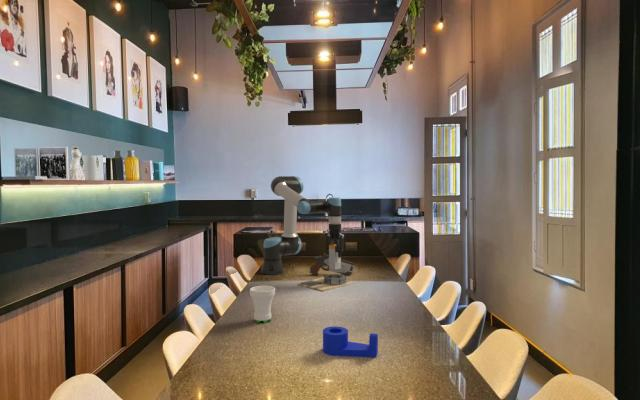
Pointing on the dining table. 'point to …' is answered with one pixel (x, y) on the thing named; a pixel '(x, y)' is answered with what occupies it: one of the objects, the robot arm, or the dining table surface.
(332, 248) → the block
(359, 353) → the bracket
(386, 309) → the dining table surface
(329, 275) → the grey octagonal ring
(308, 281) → the pad
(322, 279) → the board
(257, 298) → the cup
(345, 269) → the gun
